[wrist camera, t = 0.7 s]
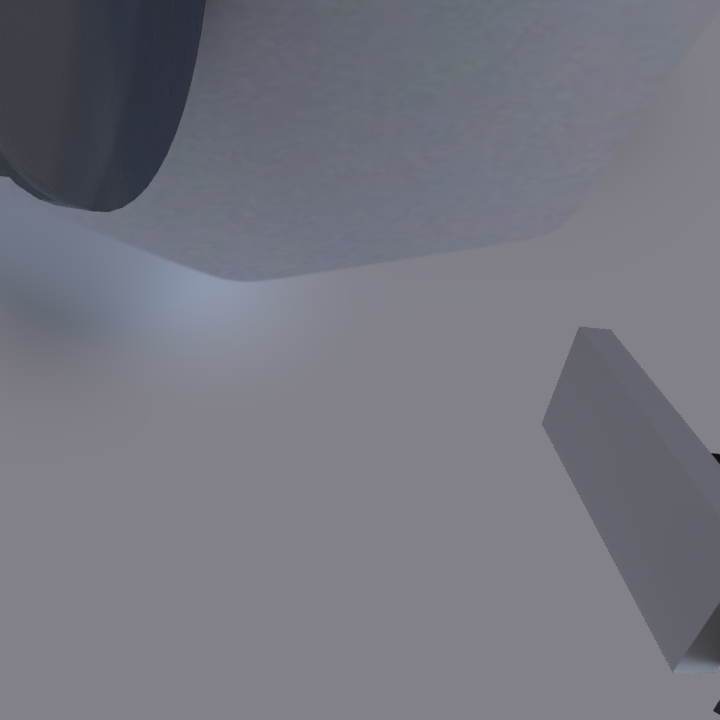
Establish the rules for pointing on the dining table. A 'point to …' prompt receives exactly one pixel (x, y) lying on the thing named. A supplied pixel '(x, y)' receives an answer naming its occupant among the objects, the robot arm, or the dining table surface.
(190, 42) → the pot lid
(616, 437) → the robot arm
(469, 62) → the dining table surface
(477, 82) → the dining table surface
